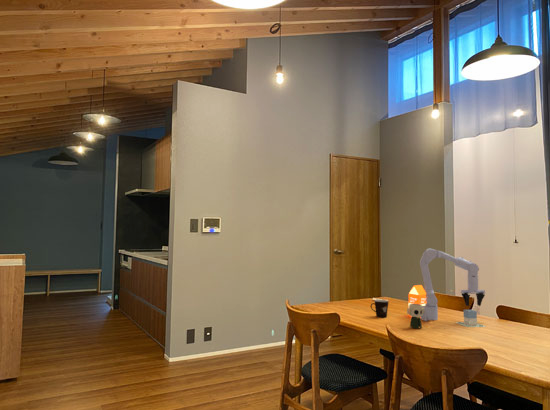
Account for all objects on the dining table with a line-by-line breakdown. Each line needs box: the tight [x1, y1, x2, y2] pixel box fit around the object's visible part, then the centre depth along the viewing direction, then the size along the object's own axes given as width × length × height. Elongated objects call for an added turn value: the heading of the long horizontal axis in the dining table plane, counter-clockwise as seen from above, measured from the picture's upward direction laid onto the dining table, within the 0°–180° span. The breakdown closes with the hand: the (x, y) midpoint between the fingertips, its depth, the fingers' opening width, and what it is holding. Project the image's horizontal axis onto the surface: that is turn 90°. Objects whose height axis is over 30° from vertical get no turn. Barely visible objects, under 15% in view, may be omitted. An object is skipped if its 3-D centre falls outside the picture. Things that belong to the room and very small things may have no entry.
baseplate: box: [455, 321, 487, 328], centre depth 239 cm, size 12×12×2 cm
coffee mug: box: [370, 299, 389, 319], centre depth 263 cm, size 12×9×10 cm
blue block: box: [463, 309, 478, 319], centre depth 240 cm, size 5×5×4 cm
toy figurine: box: [406, 303, 424, 329], centre depth 232 cm, size 11×7×13 cm, turn 106°
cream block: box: [463, 316, 478, 326], centre depth 239 cm, size 5×5×4 cm
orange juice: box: [408, 284, 427, 318], centre depth 266 cm, size 8×9×20 cm
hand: (473, 305), depth 249 cm, fingers open, 7 cm apart
